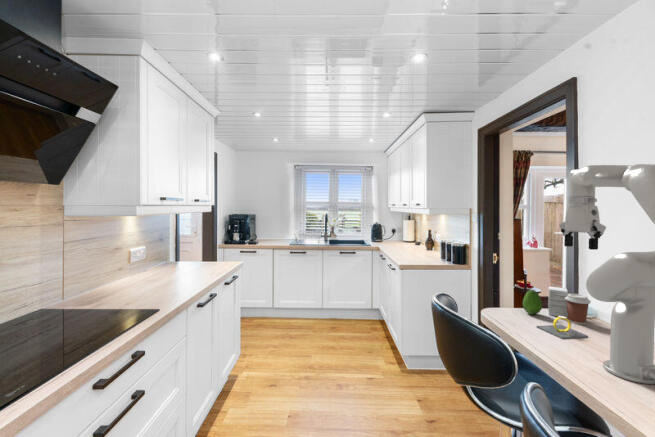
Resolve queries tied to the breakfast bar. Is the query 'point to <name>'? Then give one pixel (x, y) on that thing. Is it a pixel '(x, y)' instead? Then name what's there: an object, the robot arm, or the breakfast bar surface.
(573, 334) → the slate coaster
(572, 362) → the breakfast bar surface
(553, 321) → the watch
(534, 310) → the avocado
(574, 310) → the coffee cup
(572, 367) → the breakfast bar surface
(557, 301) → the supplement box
